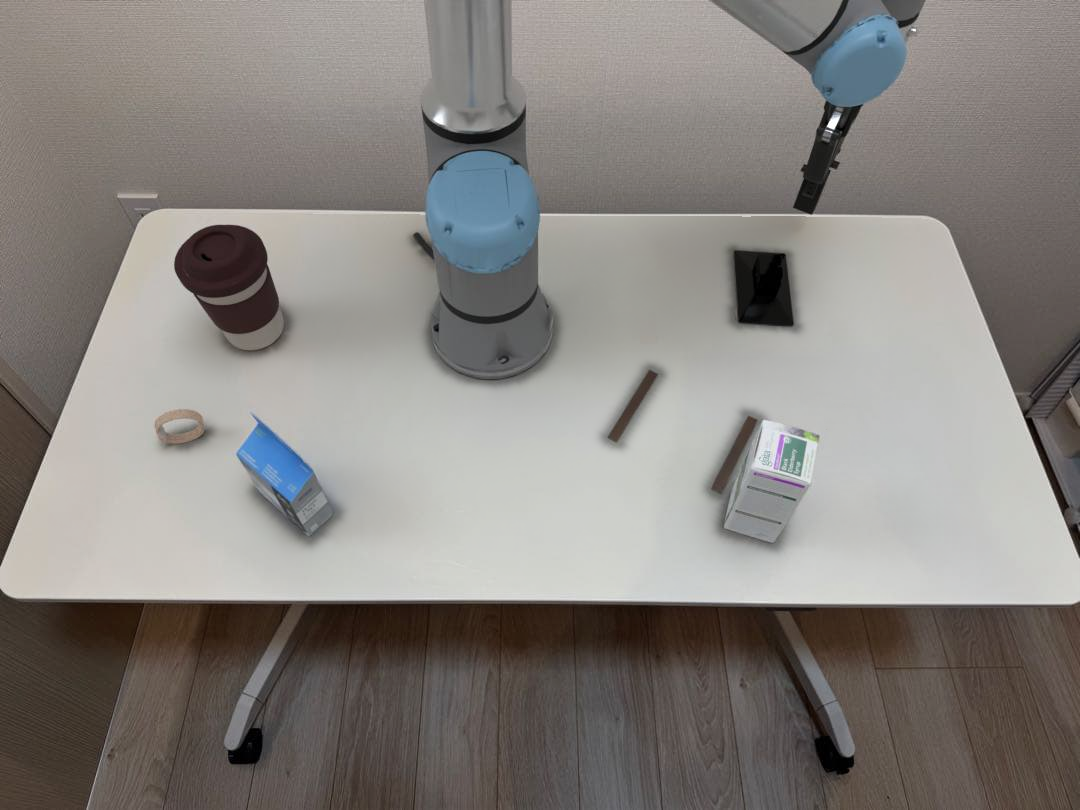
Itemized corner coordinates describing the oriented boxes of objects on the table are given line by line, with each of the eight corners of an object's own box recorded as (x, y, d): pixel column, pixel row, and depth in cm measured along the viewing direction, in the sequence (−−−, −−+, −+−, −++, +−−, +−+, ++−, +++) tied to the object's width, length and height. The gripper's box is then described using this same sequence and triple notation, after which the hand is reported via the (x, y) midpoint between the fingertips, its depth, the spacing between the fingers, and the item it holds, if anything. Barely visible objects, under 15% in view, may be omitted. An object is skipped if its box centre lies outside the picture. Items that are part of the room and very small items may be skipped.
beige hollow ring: (167, 434, 89) (148, 412, 85) (208, 421, 90) (192, 399, 86) (169, 453, 88) (151, 431, 83) (212, 440, 89) (195, 418, 84)
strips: (607, 437, 89) (607, 436, 89) (649, 370, 94) (649, 369, 94) (720, 493, 85) (721, 493, 85) (757, 420, 90) (758, 419, 90)
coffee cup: (289, 291, 101) (253, 205, 88) (301, 349, 96) (265, 267, 83) (212, 309, 99) (164, 224, 86) (220, 369, 94) (171, 289, 81)
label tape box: (257, 490, 85) (217, 435, 75) (285, 465, 87) (250, 408, 76) (309, 538, 82) (276, 488, 72) (337, 511, 84) (309, 459, 73)
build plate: (793, 327, 98) (803, 304, 94) (735, 323, 98) (743, 300, 94) (785, 254, 104) (794, 230, 100) (731, 251, 105) (738, 227, 101)
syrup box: (774, 545, 82) (816, 485, 70) (720, 528, 83) (751, 466, 71) (783, 499, 85) (824, 433, 73) (730, 483, 86) (762, 416, 74)
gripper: (883, 89, 80) (814, 249, 100) (917, 26, 86) (846, 188, 106) (814, 67, 82) (760, 228, 102) (852, 7, 88) (794, 170, 108)
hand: (804, 207), depth 104 cm, fingers closed
